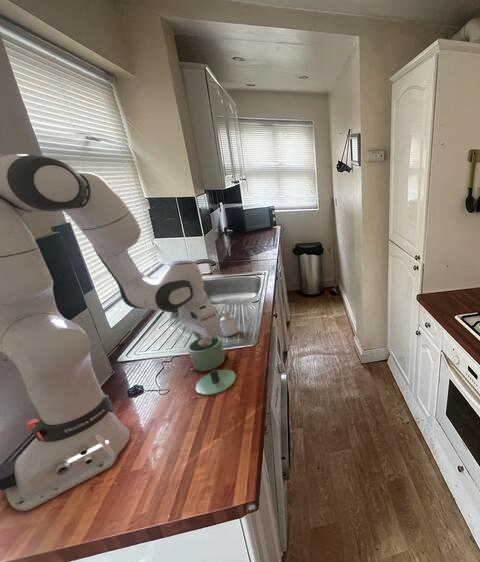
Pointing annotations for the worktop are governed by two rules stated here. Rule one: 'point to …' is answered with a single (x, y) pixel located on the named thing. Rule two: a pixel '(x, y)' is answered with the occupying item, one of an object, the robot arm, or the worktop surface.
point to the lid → (215, 382)
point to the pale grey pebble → (203, 343)
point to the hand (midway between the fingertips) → (203, 341)
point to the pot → (206, 354)
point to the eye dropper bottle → (228, 324)
